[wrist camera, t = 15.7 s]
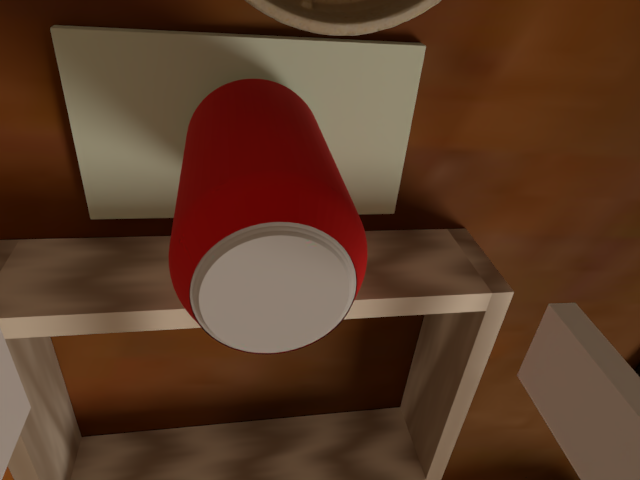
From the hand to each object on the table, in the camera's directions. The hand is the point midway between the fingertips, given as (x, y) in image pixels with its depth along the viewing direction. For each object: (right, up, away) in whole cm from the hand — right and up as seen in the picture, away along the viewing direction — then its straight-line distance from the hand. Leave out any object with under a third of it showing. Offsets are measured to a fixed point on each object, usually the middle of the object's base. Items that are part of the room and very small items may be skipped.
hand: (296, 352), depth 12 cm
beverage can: (-3, +8, +11) cm, 14 cm away
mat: (-3, +8, +12) cm, 15 cm away
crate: (-4, -4, +20) cm, 21 cm away
